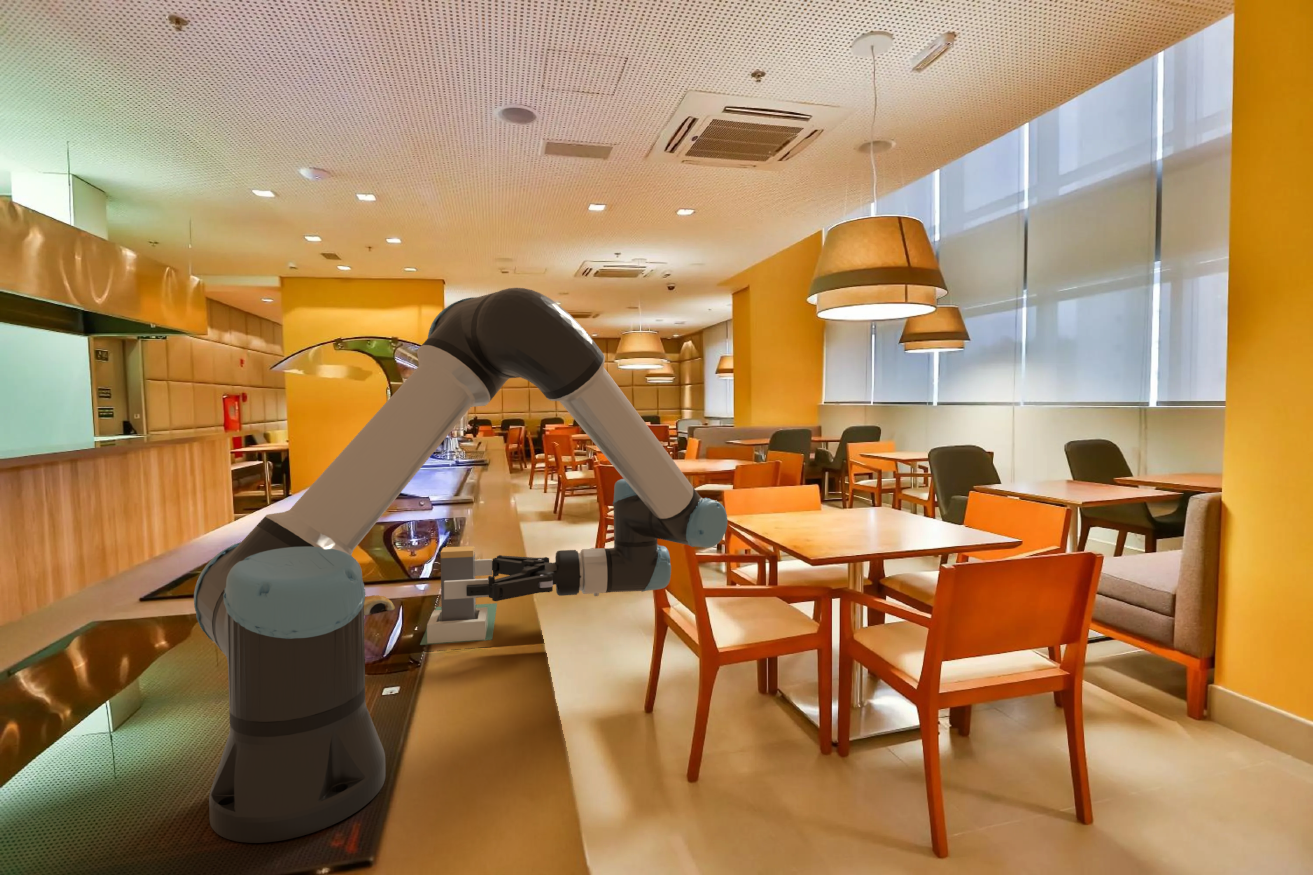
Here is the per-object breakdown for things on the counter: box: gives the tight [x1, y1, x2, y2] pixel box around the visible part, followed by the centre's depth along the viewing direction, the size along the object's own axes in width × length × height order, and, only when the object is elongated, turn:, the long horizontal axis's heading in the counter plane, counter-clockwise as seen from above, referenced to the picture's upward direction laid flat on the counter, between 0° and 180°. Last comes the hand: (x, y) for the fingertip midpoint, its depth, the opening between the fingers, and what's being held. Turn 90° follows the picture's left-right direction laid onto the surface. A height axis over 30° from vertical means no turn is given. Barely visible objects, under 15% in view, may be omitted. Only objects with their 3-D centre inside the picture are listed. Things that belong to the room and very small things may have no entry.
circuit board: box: [419, 602, 498, 653], centre depth 112 cm, size 20×11×1 cm, turn 12°
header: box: [426, 607, 488, 645], centre depth 106 cm, size 7×9×3 cm
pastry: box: [364, 594, 396, 616], centre depth 121 cm, size 9×7×4 cm
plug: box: [440, 545, 477, 621], centre depth 106 cm, size 4×5×14 cm
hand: (448, 578), depth 106 cm, fingers open, 13 cm apart
